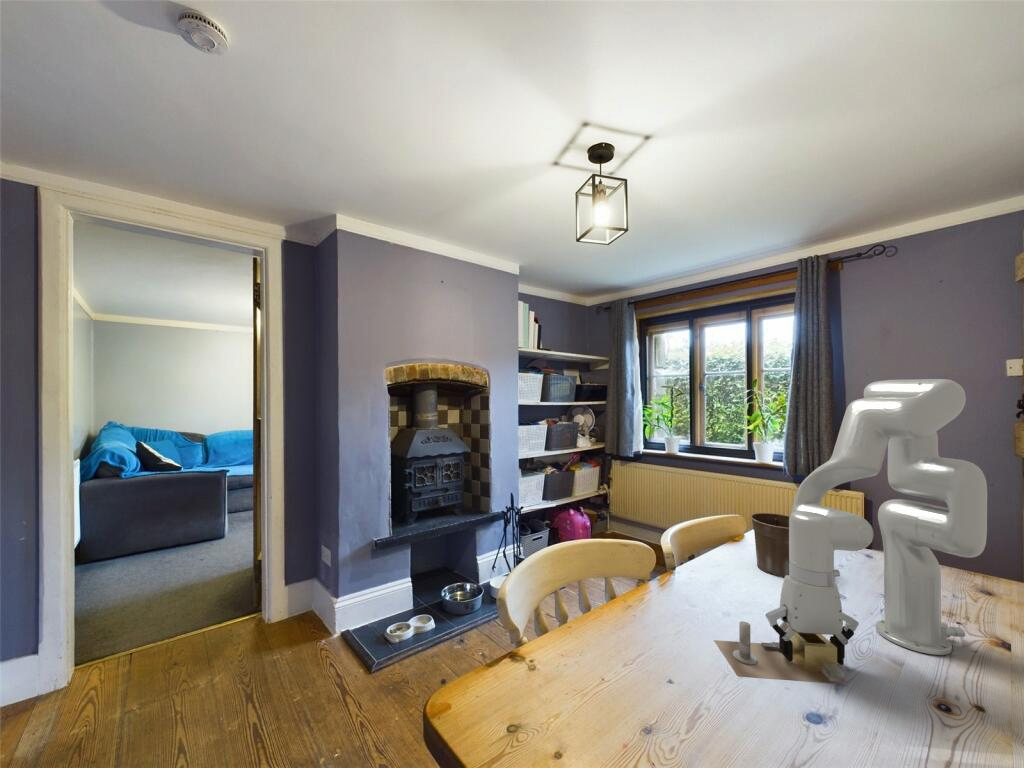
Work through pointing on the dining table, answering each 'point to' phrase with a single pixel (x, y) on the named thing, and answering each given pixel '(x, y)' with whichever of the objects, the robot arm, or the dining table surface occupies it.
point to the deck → (770, 661)
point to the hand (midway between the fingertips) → (811, 658)
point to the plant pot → (772, 542)
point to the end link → (813, 651)
